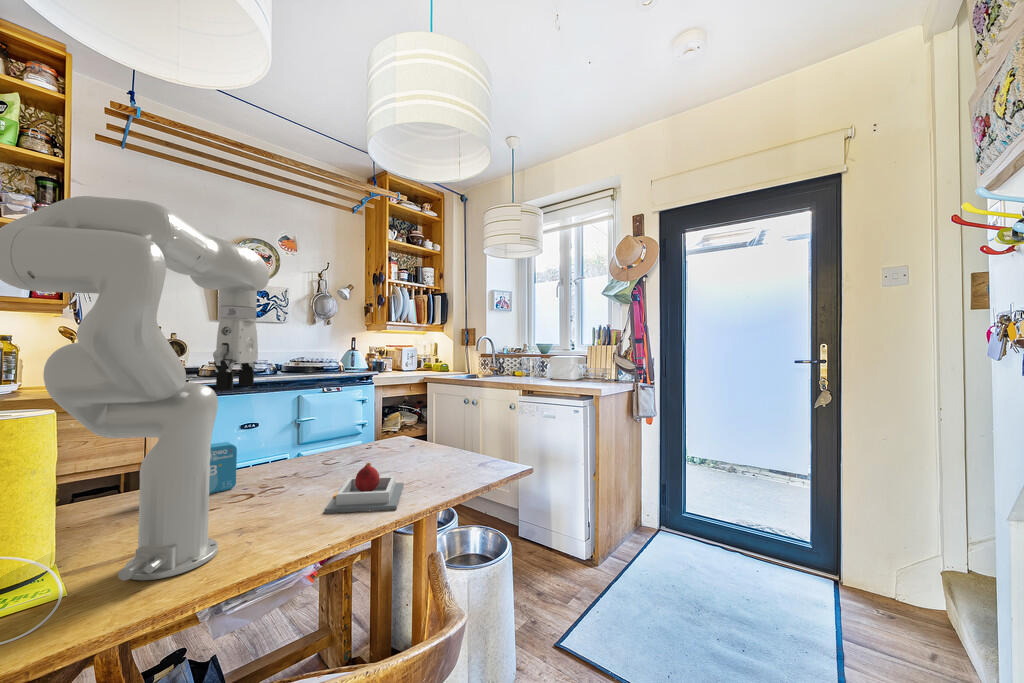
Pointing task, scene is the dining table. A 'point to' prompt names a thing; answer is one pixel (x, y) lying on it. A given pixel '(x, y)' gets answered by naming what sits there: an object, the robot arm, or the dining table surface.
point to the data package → (222, 467)
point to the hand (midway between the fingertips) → (235, 387)
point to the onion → (367, 478)
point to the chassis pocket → (366, 497)
